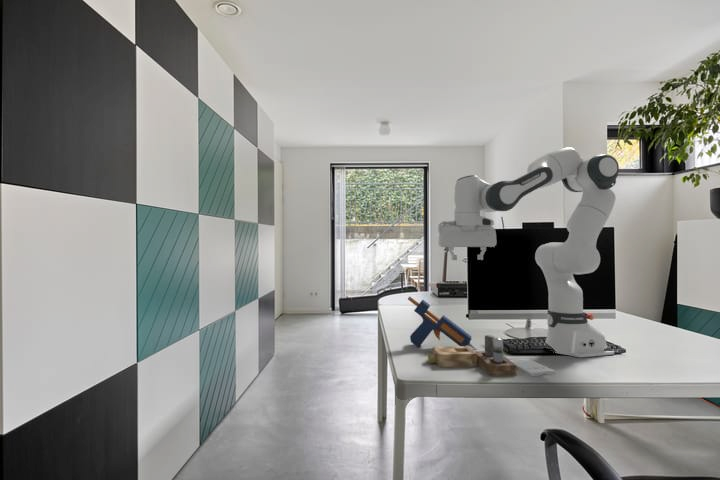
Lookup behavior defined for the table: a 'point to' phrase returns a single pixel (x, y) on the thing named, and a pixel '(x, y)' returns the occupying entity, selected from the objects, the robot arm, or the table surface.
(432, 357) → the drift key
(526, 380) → the table surface
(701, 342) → the table surface
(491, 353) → the bit rack
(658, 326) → the table surface
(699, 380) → the table surface
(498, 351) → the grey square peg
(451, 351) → the socket block
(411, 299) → the glue gun
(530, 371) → the external hard drive
